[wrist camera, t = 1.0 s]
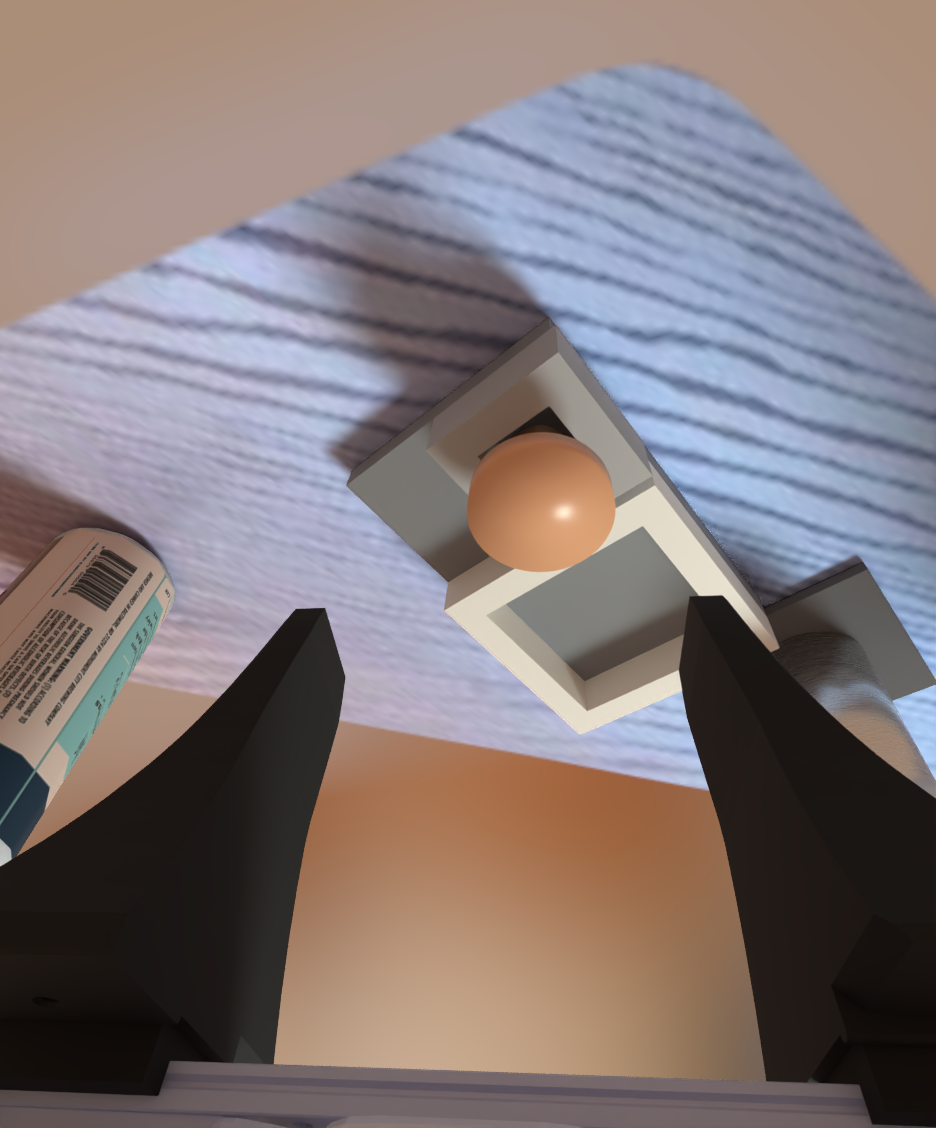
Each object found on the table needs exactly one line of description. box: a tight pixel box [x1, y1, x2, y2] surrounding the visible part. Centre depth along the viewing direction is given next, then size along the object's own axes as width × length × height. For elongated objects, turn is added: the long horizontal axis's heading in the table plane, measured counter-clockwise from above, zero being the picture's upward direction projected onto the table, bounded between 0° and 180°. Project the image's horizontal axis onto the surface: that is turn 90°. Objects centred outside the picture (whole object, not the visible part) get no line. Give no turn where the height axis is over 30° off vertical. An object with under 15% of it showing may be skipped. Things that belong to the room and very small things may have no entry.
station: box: [346, 317, 780, 735], centre depth 22 cm, size 13×8×3 cm, turn 40°
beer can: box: [0, 528, 175, 866], centre depth 21 cm, size 5×5×12 cm
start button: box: [467, 425, 616, 572], centre depth 18 cm, size 4×4×3 cm
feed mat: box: [764, 563, 936, 701], centre depth 26 cm, size 7×7×1 cm
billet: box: [771, 631, 936, 798], centre depth 24 cm, size 4×4×6 cm
